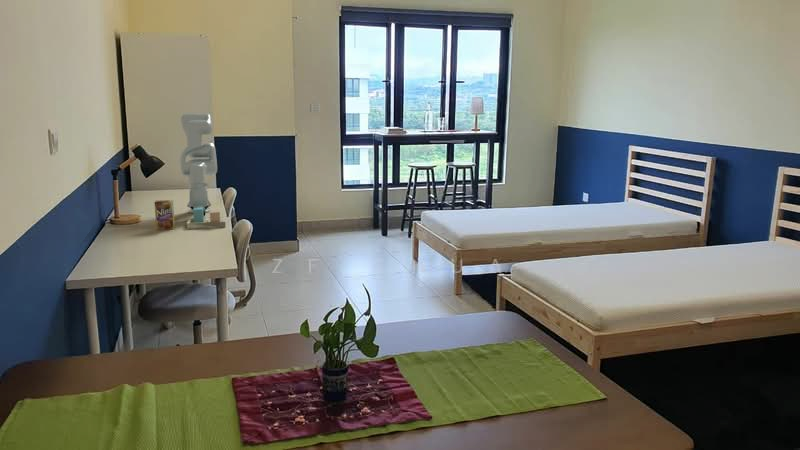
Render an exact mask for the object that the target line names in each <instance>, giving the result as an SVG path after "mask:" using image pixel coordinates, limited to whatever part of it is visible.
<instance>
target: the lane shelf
mask: <svg viewBox="0 0 800 450" xmlns="http://www.w3.org/2000/svg"><path fill="white" fill-rule="evenodd" d="M191 221H192V220H191V219H187V222H186V229H187V230H191V229H193V230H194V229H212V228H213V229H214V228H215V229H217V228H226V225H227V223H226V221H227V220H226V217H223V218H222V221H221V220H220V222H210V221H209V218H205V219H204V222H199V223H194V222H191Z"/></svg>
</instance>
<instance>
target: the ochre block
mask: <svg viewBox="0 0 800 450" xmlns="http://www.w3.org/2000/svg"><path fill="white" fill-rule="evenodd" d="M209 218H210V219H209V220H210V221H209V222H220V221H221V210H210V211H209Z"/></svg>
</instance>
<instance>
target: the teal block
mask: <svg viewBox="0 0 800 450" xmlns="http://www.w3.org/2000/svg"><path fill="white" fill-rule="evenodd" d="M192 214H193V223H199V222H205V216H204V215H203V208H193V213H192Z"/></svg>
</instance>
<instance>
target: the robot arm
mask: <svg viewBox="0 0 800 450" xmlns="http://www.w3.org/2000/svg"><path fill="white" fill-rule="evenodd" d="M212 121H213V120H212V116H211V114H209V113H207V112H194V113H193V112H192V113H191V112H189V113H184V114H182V115H181V117H180V123H181V126H182V129H183V132H184V133H185V136H186V142H187V143H186V147H185V148H184V149H183V151H182V152H181V155H180V158H179V160H180V172H181V174H182V175H184V176H188V185H189V195H188V196H189V197H188V200H189V201H188V203H187V204H186V205H187V206H186V207H187V208H190V209H188V213H190V214H193V208H203V215H204V217H205V216H206V213H210V211H211V208H210V207H211V206H212V203H211V202H210V200H209V194H208V189H207V187H208V183H206V181H205V180H206V179H205V176H210V175H211V176H212V175H216V174H217V173H218V160H217V153H216V152H217V150H216V146H215V144H214V143H212V142H203V135H211V134H212V133H213V122H212ZM187 157H189V158H191V159H190V160H188V161H187V162H186V158H187Z"/></svg>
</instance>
